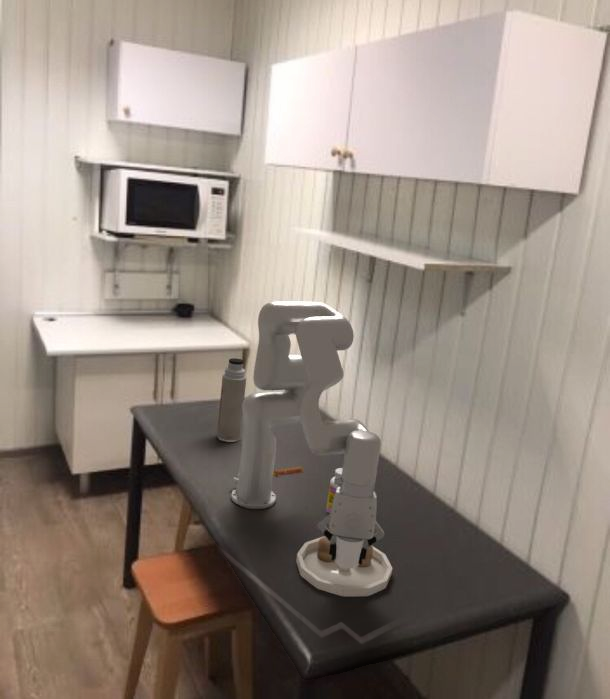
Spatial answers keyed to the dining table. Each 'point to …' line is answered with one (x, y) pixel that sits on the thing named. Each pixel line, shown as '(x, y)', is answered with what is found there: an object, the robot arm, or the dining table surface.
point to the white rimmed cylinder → (348, 551)
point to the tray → (343, 573)
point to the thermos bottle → (232, 400)
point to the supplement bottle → (333, 489)
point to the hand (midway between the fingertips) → (346, 558)
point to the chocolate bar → (288, 471)
